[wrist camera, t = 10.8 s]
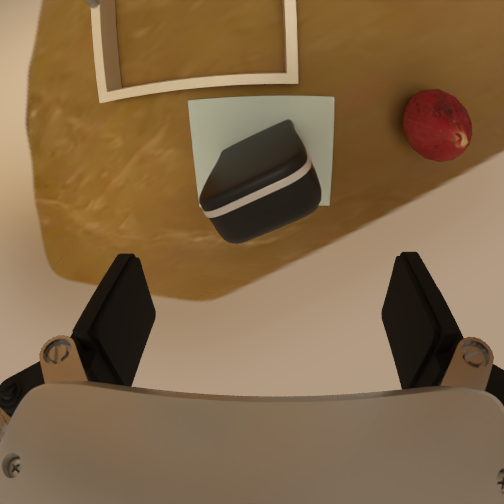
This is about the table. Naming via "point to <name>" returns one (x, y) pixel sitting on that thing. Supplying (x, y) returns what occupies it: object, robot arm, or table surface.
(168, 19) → the table surface
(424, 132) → the red fruit
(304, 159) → the battery charger
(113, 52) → the case
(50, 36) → the table surface
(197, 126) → the mat
